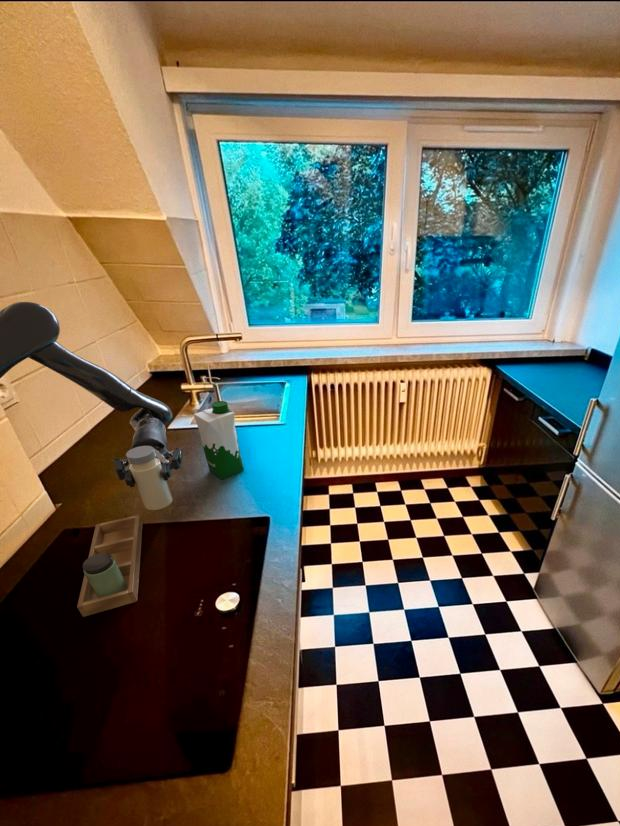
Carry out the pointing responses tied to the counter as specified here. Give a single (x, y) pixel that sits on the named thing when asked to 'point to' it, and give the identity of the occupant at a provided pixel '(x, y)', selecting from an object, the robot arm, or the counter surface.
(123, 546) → the jar stand
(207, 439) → the milk carton
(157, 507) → the jar
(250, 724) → the counter surface
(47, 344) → the robot arm
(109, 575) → the spice jar
